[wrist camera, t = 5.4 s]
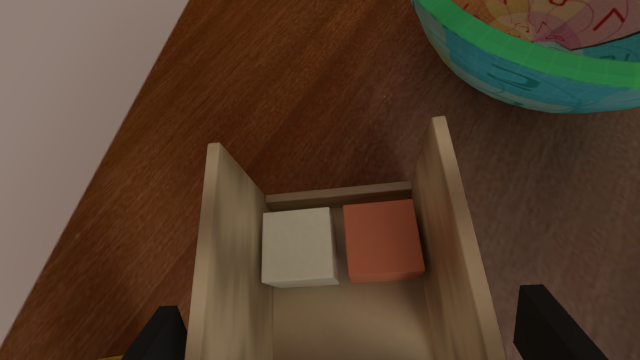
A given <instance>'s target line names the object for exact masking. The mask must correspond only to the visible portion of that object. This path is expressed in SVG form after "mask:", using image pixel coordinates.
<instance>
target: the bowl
mask: <svg viewBox="0 0 640 360" xmlns="http://www.w3.org/2000/svg"><path fill="white" fill-rule="evenodd" d="M410 1H411V3H412V5H413V7H414V10H415V12H416V13H417V15H418V17H419V20H420V23H421V25H422V28H423V30H424V32H425V34H426V37H427V39H428V40H429V42H430V43H431V45H432V46H433V48H434V49H435V51H436V52H437V53H438V55H439V56H440V58H441V59H442V61H443V62H444V63H445V64H446V65H447V66H448V67H449V68H450V69H451V70H452V71H453V72H454V73H455V74H456V75H457V76H458V77H460V78H461V79H462V80H464V81H465V82H466V83H468V84H469V85H470V86H472V87H474V88H475V89H477V90H479V91H481V92H483V93H485V94H486V95H488V96H490V97H492V98H495V99H497V100H500V101H503V102H505V103H508V104H512V105H515V106H519V107H523V108H527V109H531V110H537V111H544V112H551V113H569V114H582V113H593V112H604V111H615V110H626V109H631V108H635V107H640V0H410Z"/></svg>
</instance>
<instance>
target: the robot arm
mask: <svg viewBox="0 0 640 360" xmlns="http://www.w3.org/2000/svg"><path fill="white" fill-rule="evenodd" d="M186 342H187V331H186V328H185V325H184V323H183V320H182V317H181V315H180V312H179V309H178V307H177V305H176V306H159V308H158V309H157V310H156V312H155V313H154V315H153V316H152V317H151V319H150V320H149V321H148V323H147V324H146V326H145V327H144V328H143V330H142V331H141V332H140V334H139V335H138V336H137V338H136V339H135V341H134V342H133V343H132V345H131V346H130V347H129V349H128V350H127V352H126V353H125V354H124V356H123V357H122V358H121V360H185V351H186ZM513 343H514V345H515V346H516V348H517V350H518V351H519V353H520V355H521V356H522V358H523V360H609V359H608V358H607V357H606V356H605V355H604V354H603V353H602V351H601V350H600V349H599V348H598V347H597V346H596V345H595V343H594V342H593V341H592V340H591V339H590V338H589V337H588V335H587V334H586V333H585V332H584V331H583V330H582V329H581V327H580V326H579V325H578V324H577V323H576V322H575V321H574V319H573V318H572V317H571V316H570V315H569V314H568V313H567V311H566V310H565V309H564V308H563V307H562V306H561V305H560V303H559V302H558V301H557V300H556V299H555V298H554V297H553V295H552V294H551V293H550V292H549V291H548V290H547V289H546V287H545V286H544V285H543V284H538V285H521V286H520V289H519V298H518V306H517V315H516V323H515V332H514V340H513Z"/></svg>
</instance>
